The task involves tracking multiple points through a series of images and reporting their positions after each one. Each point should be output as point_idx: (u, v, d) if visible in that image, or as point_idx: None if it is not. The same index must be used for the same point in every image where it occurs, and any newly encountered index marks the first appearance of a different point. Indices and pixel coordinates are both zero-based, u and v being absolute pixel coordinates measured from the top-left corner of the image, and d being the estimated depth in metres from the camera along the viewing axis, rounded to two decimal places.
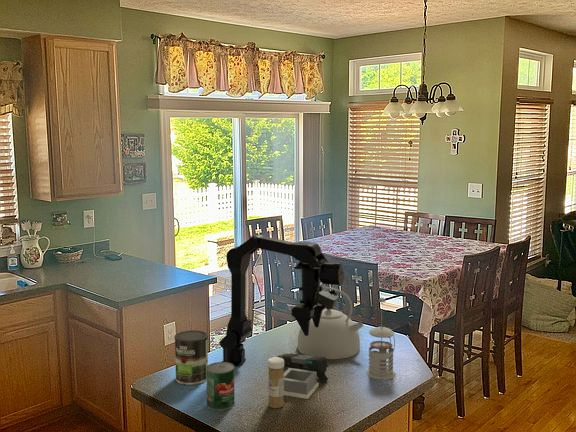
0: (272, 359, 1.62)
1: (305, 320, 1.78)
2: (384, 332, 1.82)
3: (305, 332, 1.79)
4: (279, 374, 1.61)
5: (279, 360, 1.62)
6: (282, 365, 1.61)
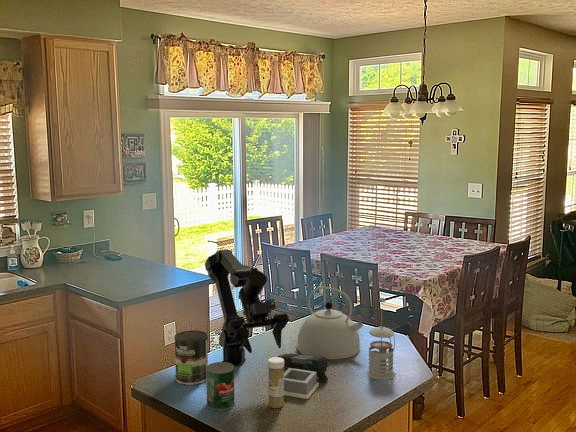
0: (272, 359, 1.62)
1: (242, 336, 1.70)
2: (384, 332, 1.82)
3: (248, 350, 1.68)
4: (279, 374, 1.61)
5: (279, 360, 1.62)
6: (282, 365, 1.61)
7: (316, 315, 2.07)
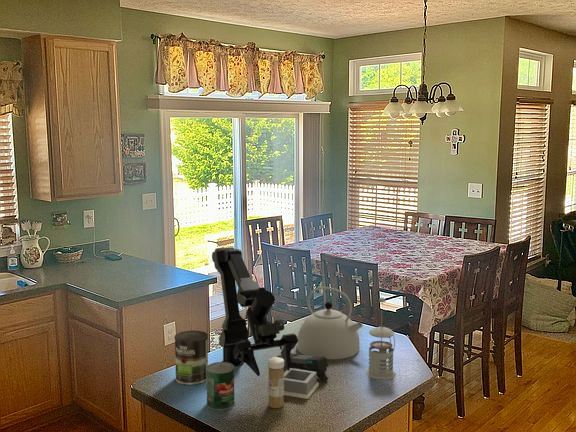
0: (272, 359, 1.62)
1: (250, 358, 1.65)
2: (384, 332, 1.82)
3: (256, 372, 1.63)
4: (279, 374, 1.61)
5: (279, 360, 1.62)
6: (282, 365, 1.61)
7: (316, 315, 2.07)
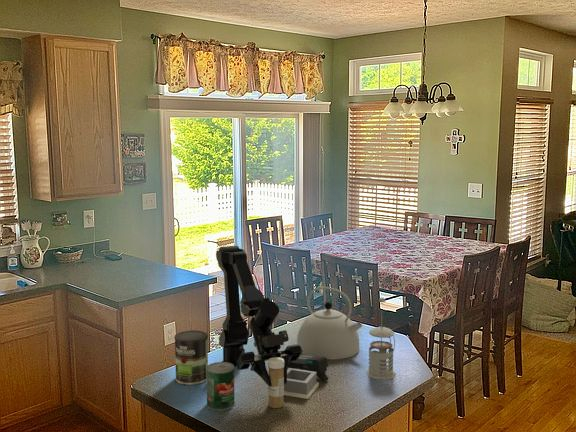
0: (272, 359, 1.62)
1: None
2: (384, 332, 1.82)
3: (267, 383, 1.62)
4: (279, 374, 1.61)
5: (279, 360, 1.62)
6: (282, 365, 1.61)
7: (315, 315, 2.07)
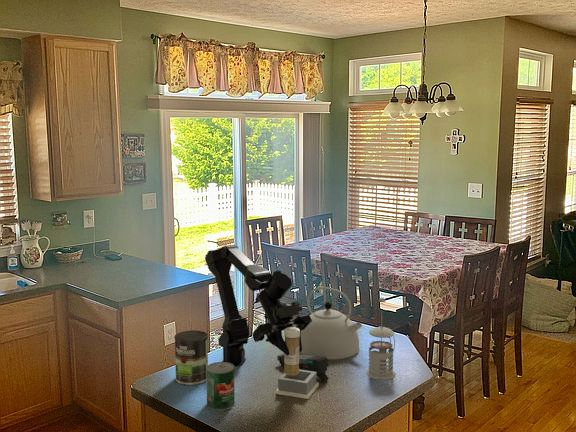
0: (288, 329, 1.68)
1: (278, 339, 1.69)
2: (384, 332, 1.82)
3: (285, 352, 1.67)
4: (296, 342, 1.67)
5: (296, 329, 1.68)
6: (299, 334, 1.68)
7: (315, 315, 2.07)
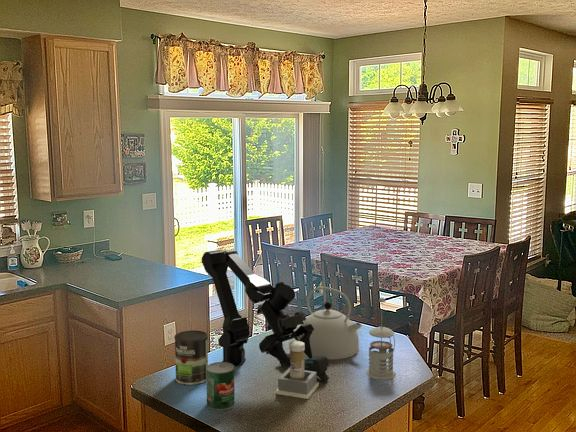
0: (293, 343, 1.73)
1: (278, 351, 1.70)
2: (384, 332, 1.82)
3: (286, 363, 1.69)
4: (302, 356, 1.72)
5: (301, 343, 1.72)
6: (304, 347, 1.72)
7: (315, 315, 2.07)
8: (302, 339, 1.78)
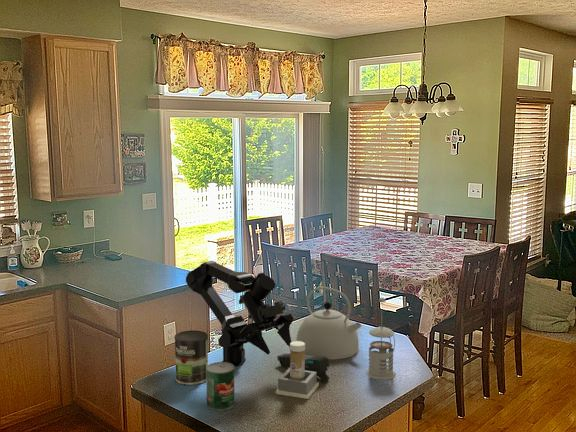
0: (294, 343, 1.73)
1: (258, 339, 1.77)
2: (384, 332, 1.82)
3: (265, 351, 1.76)
4: (302, 356, 1.72)
5: (301, 343, 1.72)
6: (304, 347, 1.72)
7: (314, 315, 2.07)
8: (282, 328, 1.85)
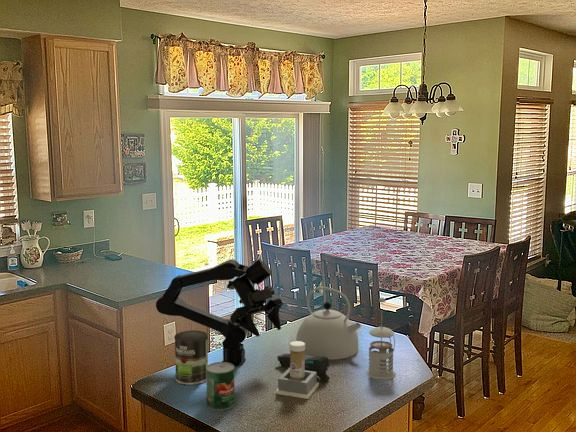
0: (294, 343, 1.73)
1: (248, 322, 1.83)
2: (384, 332, 1.82)
3: (255, 334, 1.82)
4: (302, 356, 1.72)
5: (301, 343, 1.72)
6: (304, 347, 1.72)
7: (314, 315, 2.07)
8: (272, 312, 1.91)
